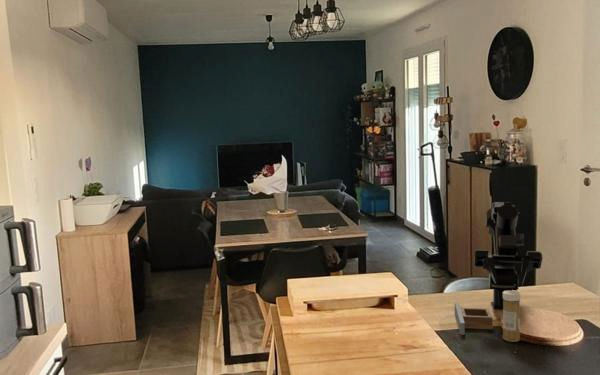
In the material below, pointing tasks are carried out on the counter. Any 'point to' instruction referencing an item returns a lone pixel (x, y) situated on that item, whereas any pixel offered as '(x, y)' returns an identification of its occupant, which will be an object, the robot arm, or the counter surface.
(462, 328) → the backstop rail
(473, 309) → the socket block
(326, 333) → the counter surface
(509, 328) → the sprinkles bottle
